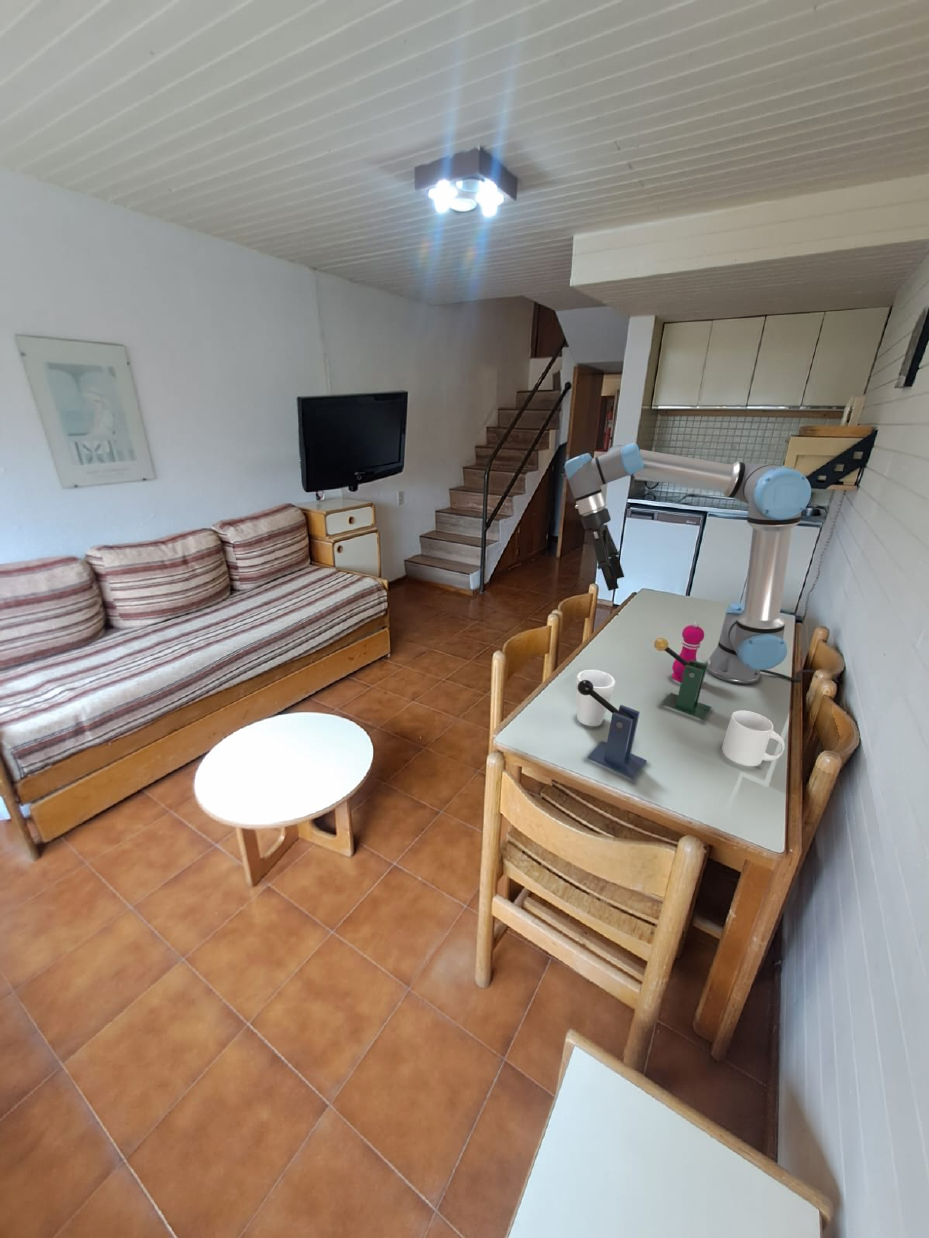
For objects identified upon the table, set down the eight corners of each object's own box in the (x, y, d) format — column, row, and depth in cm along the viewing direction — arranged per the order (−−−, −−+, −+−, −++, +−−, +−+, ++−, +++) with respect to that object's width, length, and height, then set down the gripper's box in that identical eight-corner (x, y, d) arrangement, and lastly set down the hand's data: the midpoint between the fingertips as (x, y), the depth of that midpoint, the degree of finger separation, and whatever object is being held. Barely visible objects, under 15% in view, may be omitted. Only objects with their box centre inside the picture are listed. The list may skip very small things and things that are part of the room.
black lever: (572, 690, 115) (579, 680, 113) (579, 684, 117) (586, 674, 115) (622, 732, 109) (631, 722, 107) (628, 725, 112) (637, 715, 110)
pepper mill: (690, 676, 155) (704, 617, 147) (698, 688, 148) (713, 627, 140) (666, 674, 155) (679, 616, 147) (673, 686, 148) (687, 625, 141)
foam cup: (579, 733, 125) (586, 689, 120) (565, 713, 133) (571, 671, 128) (614, 730, 127) (622, 686, 122) (597, 710, 135) (604, 668, 130)
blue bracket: (587, 760, 115) (595, 710, 110) (601, 744, 121) (610, 696, 116) (632, 782, 109) (643, 730, 103) (645, 764, 115) (656, 714, 109)
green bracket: (660, 707, 137) (670, 663, 132) (670, 696, 143) (680, 653, 138) (702, 722, 131) (714, 677, 126) (710, 710, 137) (722, 666, 131)
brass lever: (649, 646, 137) (657, 637, 135) (654, 642, 139) (661, 633, 137) (693, 681, 132) (701, 672, 130) (697, 676, 134) (705, 667, 132)
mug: (777, 780, 111) (791, 741, 107) (719, 761, 116) (730, 723, 112) (776, 758, 118) (790, 721, 114) (721, 742, 123) (732, 706, 119)
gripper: (588, 511, 149) (609, 577, 152) (571, 522, 127) (596, 598, 130) (612, 502, 145) (634, 570, 148) (599, 512, 123) (625, 590, 127)
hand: (616, 583), depth 139 cm, fingers open, 13 cm apart
